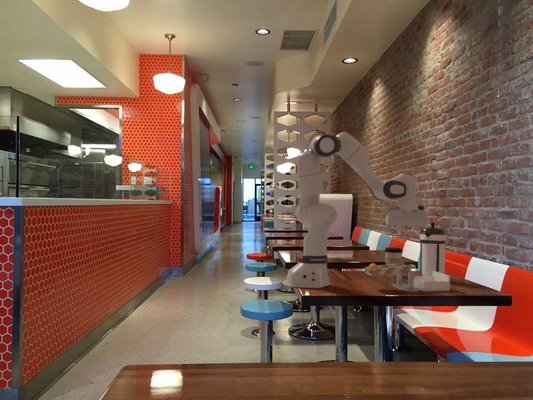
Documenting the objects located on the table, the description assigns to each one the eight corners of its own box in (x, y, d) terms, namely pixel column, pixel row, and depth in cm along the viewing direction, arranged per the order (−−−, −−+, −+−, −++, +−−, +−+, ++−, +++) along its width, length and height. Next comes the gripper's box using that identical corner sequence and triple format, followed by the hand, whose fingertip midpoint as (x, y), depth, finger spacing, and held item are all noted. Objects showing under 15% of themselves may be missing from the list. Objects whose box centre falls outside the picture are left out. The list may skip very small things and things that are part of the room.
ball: (371, 273, 189) (370, 264, 189) (368, 272, 193) (367, 263, 193) (379, 272, 190) (378, 263, 190) (376, 270, 194) (375, 262, 194)
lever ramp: (371, 278, 187) (370, 269, 187) (358, 272, 204) (357, 264, 203) (423, 272, 191) (423, 263, 191) (406, 266, 207) (406, 258, 207)
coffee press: (454, 282, 210) (455, 223, 210) (422, 282, 210) (423, 222, 211) (440, 276, 227) (441, 221, 228) (411, 276, 228) (412, 221, 228)
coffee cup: (400, 274, 233) (400, 247, 233) (404, 277, 223) (404, 249, 223) (382, 273, 234) (382, 247, 234) (385, 276, 224) (386, 249, 224)
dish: (423, 291, 188) (424, 275, 188) (409, 285, 201) (409, 271, 201) (449, 291, 189) (450, 275, 189) (433, 285, 203) (434, 270, 203)
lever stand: (406, 292, 186) (406, 272, 186) (391, 285, 201) (392, 267, 201) (419, 291, 186) (419, 272, 187) (403, 285, 201) (403, 267, 201)
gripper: (389, 206, 199) (388, 235, 199) (429, 207, 202) (428, 235, 201) (383, 206, 205) (383, 234, 205) (422, 207, 208) (422, 234, 208)
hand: (406, 235), depth 203 cm, fingers open, 5 cm apart
